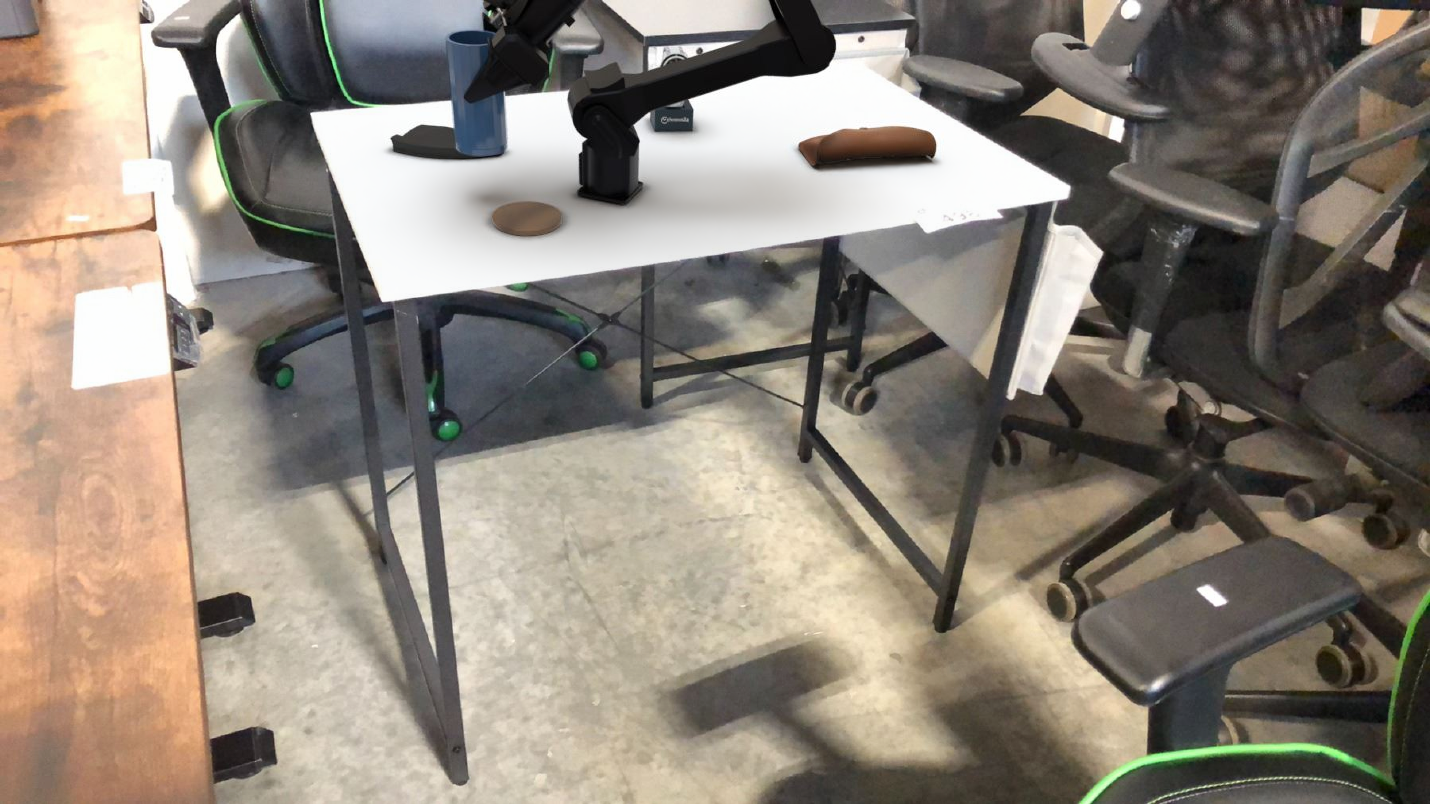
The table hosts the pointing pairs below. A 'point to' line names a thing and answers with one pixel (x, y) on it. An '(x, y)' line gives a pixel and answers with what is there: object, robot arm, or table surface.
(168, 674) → the table surface
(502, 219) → the coaster
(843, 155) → the sunglasses case
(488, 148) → the pen cup
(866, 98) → the table surface
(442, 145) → the dark sector wedge
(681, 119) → the watch
